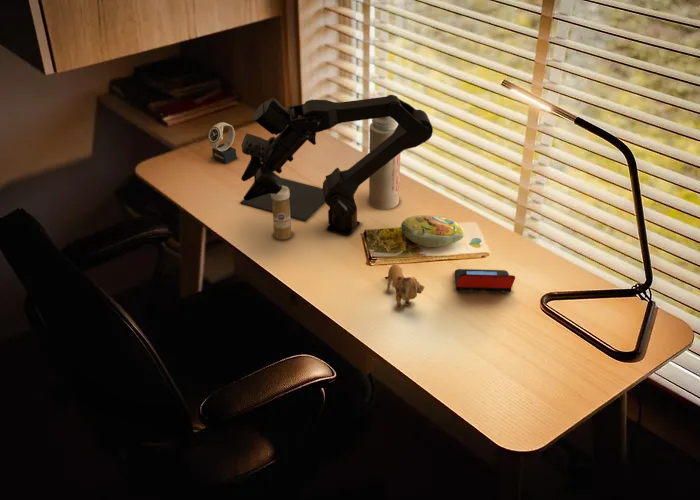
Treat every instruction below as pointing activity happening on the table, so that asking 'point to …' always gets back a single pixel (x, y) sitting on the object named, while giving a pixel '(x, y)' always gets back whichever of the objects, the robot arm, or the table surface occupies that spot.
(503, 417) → the table surface
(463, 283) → the handheld console
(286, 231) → the sprinkles bottle
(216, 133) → the watch
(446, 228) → the cell model
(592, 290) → the table surface
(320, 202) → the desk mat
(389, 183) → the thermos bottle
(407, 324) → the table surface
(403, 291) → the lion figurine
